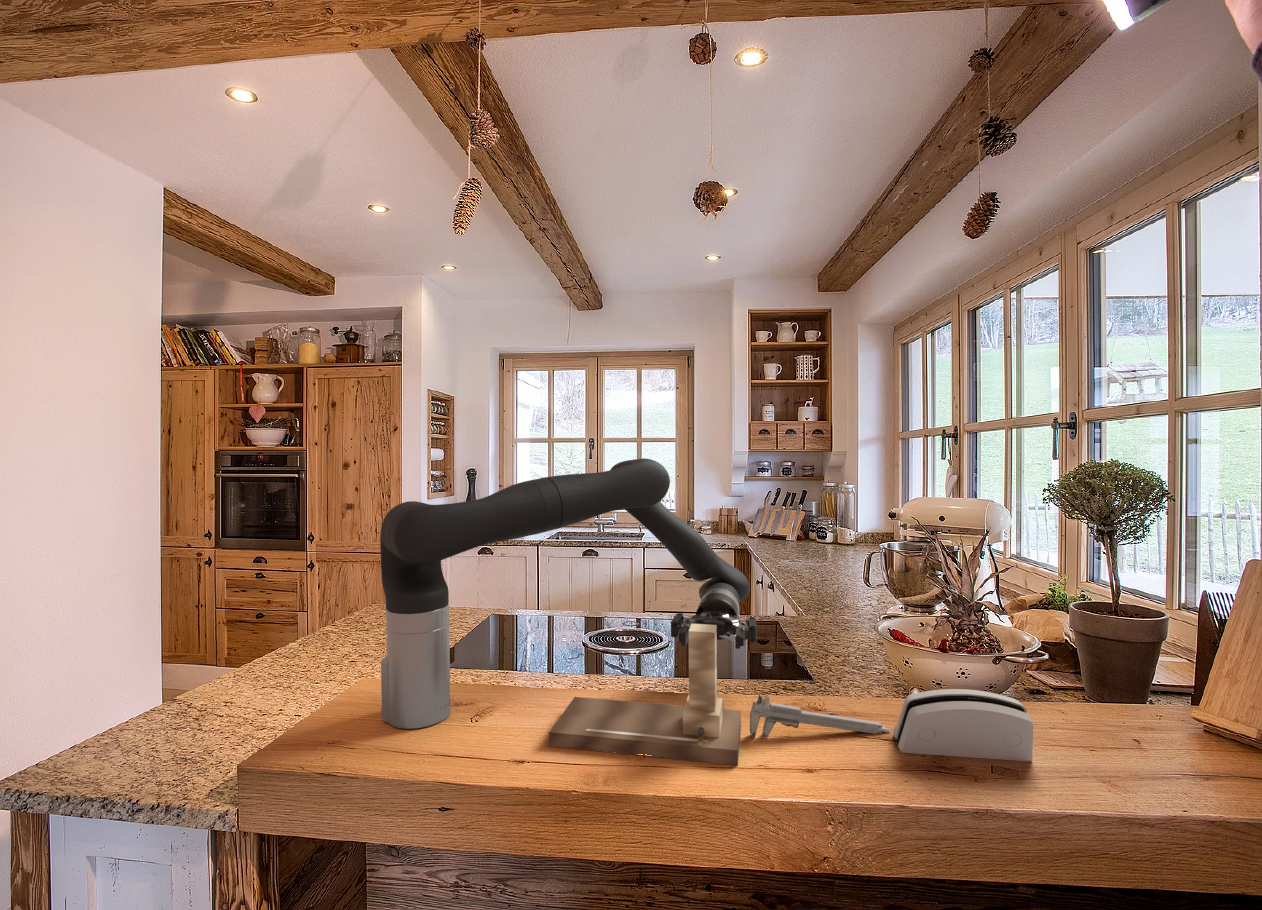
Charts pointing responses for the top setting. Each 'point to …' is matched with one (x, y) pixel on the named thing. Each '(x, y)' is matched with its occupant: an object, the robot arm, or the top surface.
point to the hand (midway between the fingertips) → (710, 641)
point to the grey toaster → (965, 725)
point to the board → (643, 731)
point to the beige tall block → (703, 684)
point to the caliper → (804, 718)
